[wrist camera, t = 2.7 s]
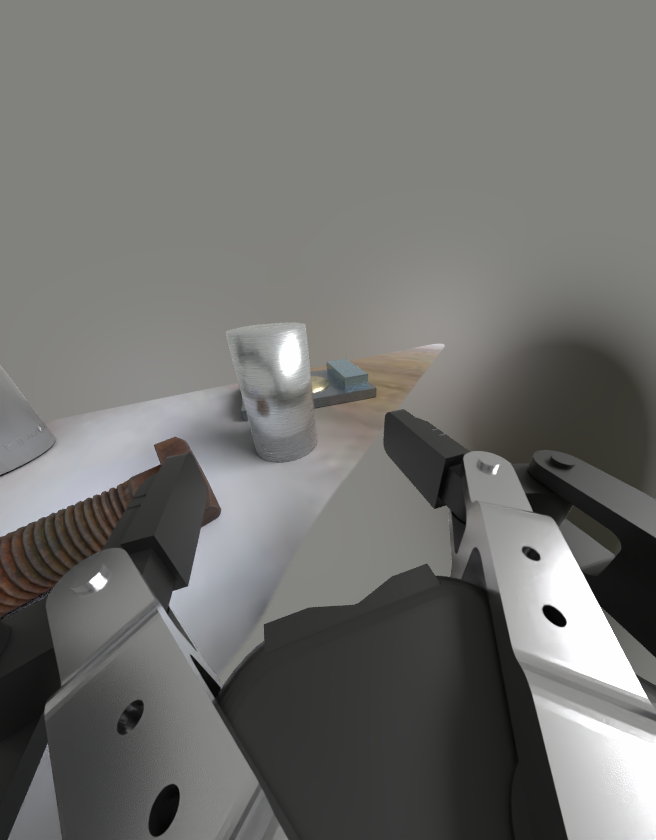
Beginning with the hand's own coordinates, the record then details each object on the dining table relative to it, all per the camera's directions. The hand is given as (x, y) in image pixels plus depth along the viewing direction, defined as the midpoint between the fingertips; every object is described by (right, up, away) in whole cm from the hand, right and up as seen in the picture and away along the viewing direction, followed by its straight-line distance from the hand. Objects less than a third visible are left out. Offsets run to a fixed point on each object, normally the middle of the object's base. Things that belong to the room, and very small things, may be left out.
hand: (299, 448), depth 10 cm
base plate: (-2, +5, +22) cm, 23 cm away
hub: (-3, -1, +12) cm, 12 cm away
